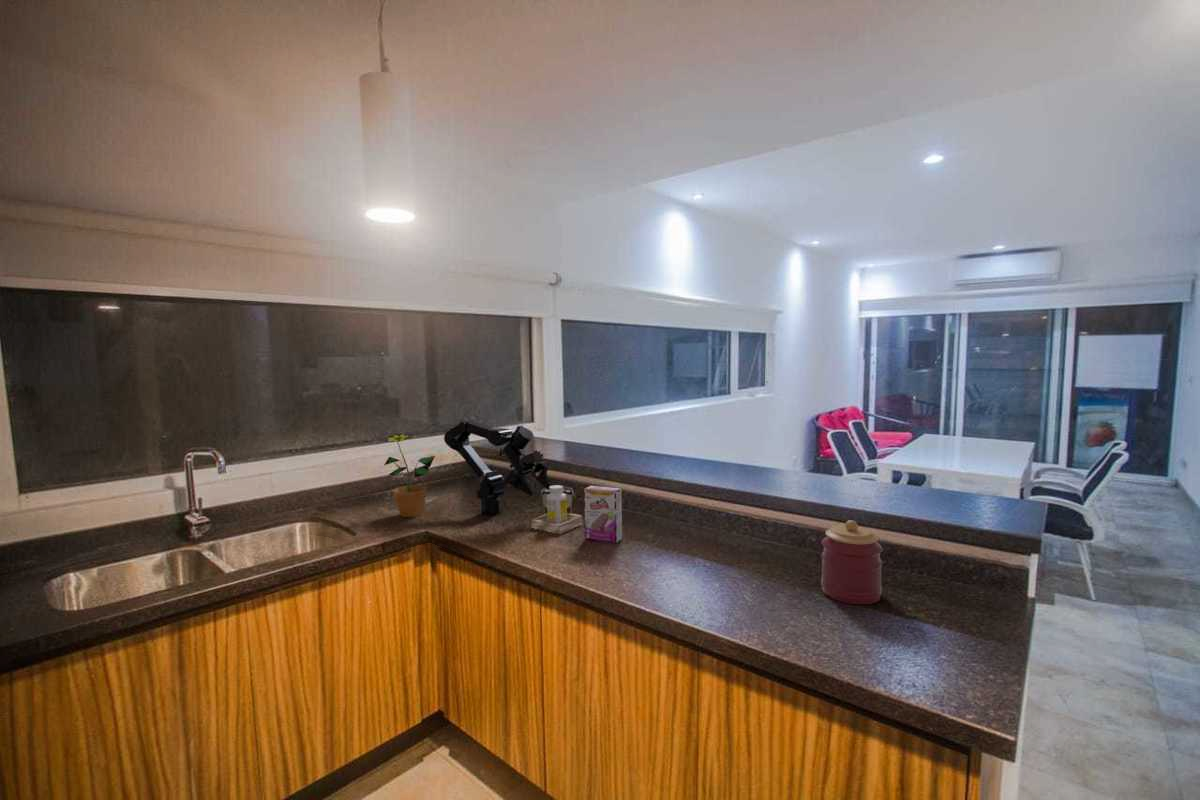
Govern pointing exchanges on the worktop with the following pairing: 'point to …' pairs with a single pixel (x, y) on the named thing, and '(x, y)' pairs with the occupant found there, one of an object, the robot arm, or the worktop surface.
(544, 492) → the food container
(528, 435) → the robot arm
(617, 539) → the candy bar box
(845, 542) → the canister
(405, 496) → the potted plant
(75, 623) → the worktop surface
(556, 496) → the supplement bottle
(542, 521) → the box
